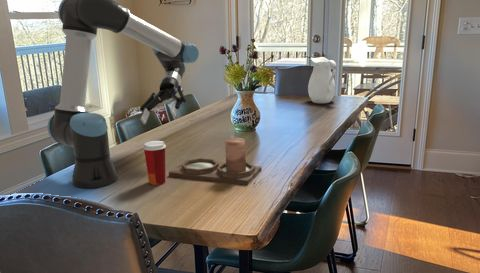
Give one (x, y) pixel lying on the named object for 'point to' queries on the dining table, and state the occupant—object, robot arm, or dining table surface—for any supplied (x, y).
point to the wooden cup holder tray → (221, 166)
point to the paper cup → (155, 161)
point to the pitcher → (322, 80)
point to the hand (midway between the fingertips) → (157, 117)
